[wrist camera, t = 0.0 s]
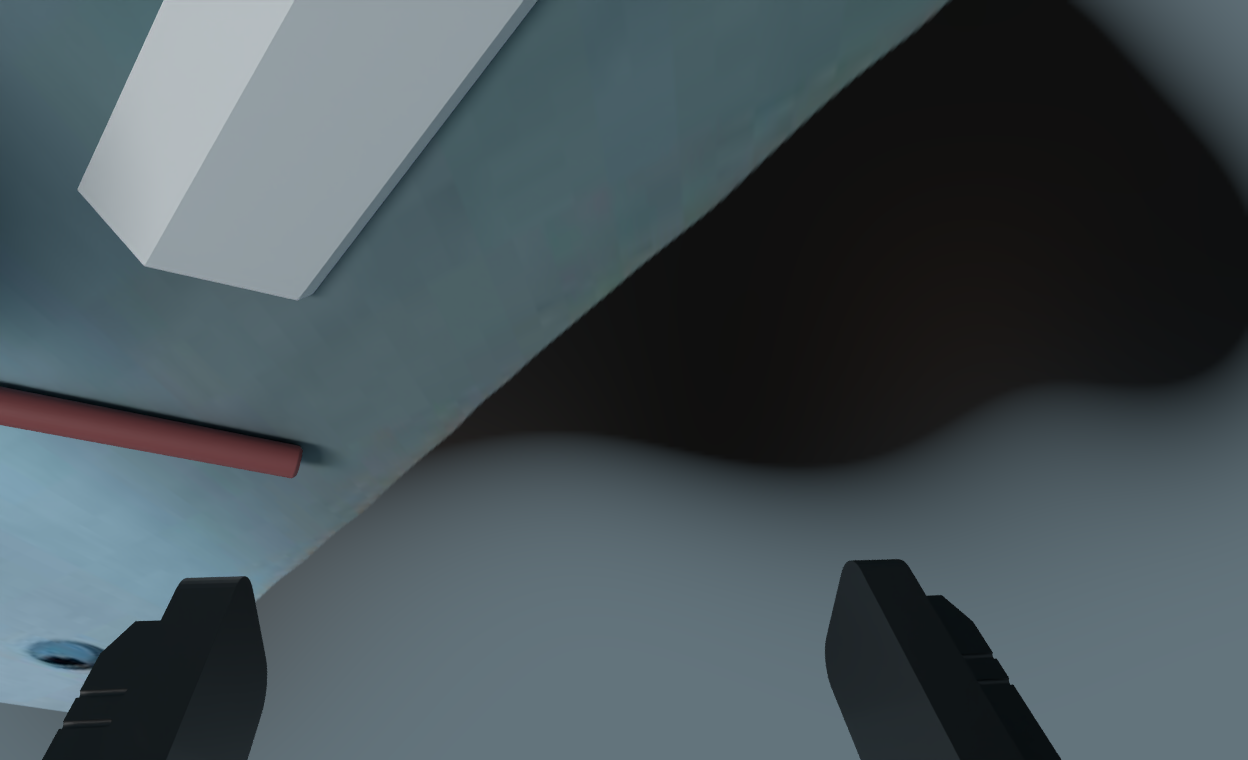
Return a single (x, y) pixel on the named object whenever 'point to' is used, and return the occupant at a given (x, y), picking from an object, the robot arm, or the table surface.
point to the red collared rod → (146, 433)
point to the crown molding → (280, 128)
